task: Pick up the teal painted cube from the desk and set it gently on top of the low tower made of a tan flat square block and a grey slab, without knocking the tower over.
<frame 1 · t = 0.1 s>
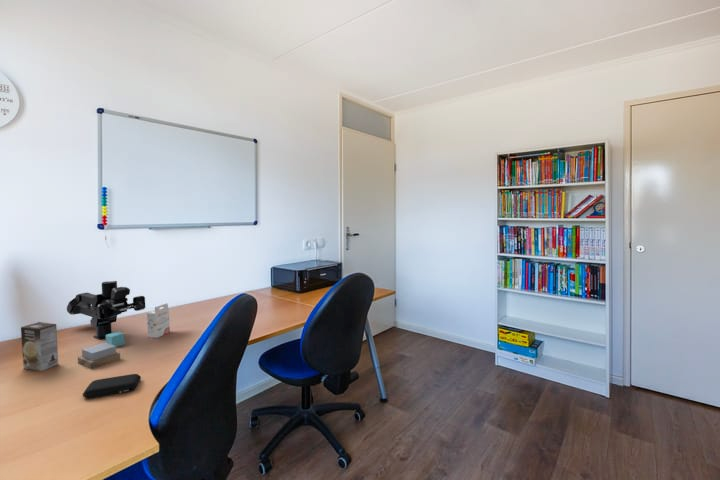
hand: (132, 309, 148), 17 cm above the table, tool horizontal, fingers open, 9 cm apart
ink cartridge box: (159, 335, 164), on the table
tan flat square block: (99, 362, 134), on the table, touching grey slab
coffee box: (41, 366, 130), on the table
teal cube: (115, 345, 151), on the table
grey slab: (99, 355, 134), point 2 cm above the table, touching tan flat square block
carrying case or bag: (113, 391, 113), on the table
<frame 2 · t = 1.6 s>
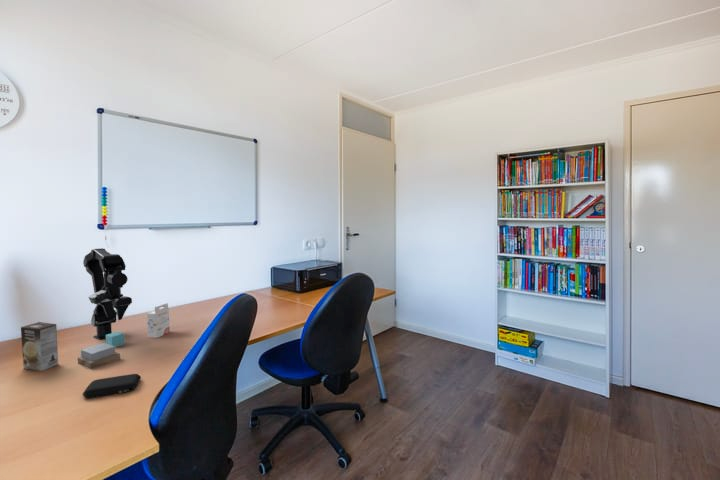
hand: (114, 318, 150), 12 cm above the table, tool pointing down, fingers open, 9 cm apart
nothing on the table moved.
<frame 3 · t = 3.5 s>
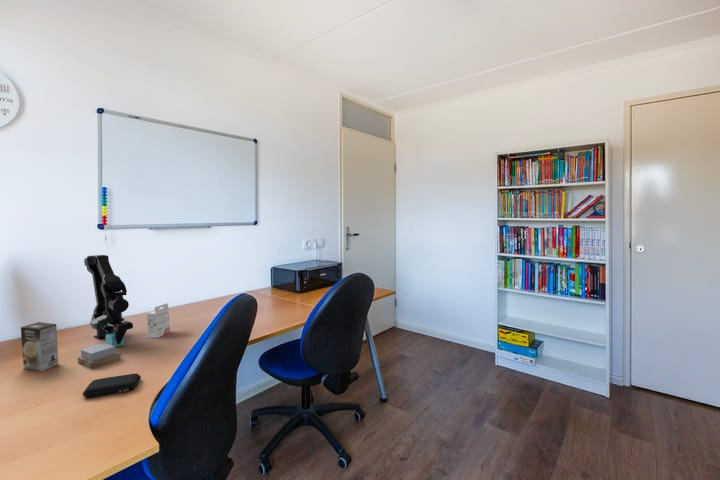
hand: (115, 342, 151), 1 cm above the table, tool pointing down, fingers closed on teal cube, 5 cm apart
teal cube: (115, 344, 151), on the table, touching gripper
everything else where it was.
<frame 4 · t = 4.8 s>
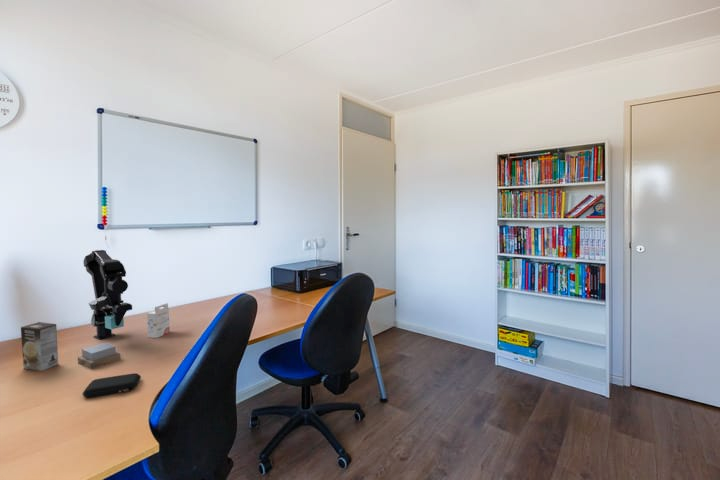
hand: (114, 324, 150), 9 cm above the table, tool pointing down, fingers closed on teal cube, 5 cm apart
teal cube: (114, 327, 150), point 8 cm above the table, touching gripper
everything else where it was.
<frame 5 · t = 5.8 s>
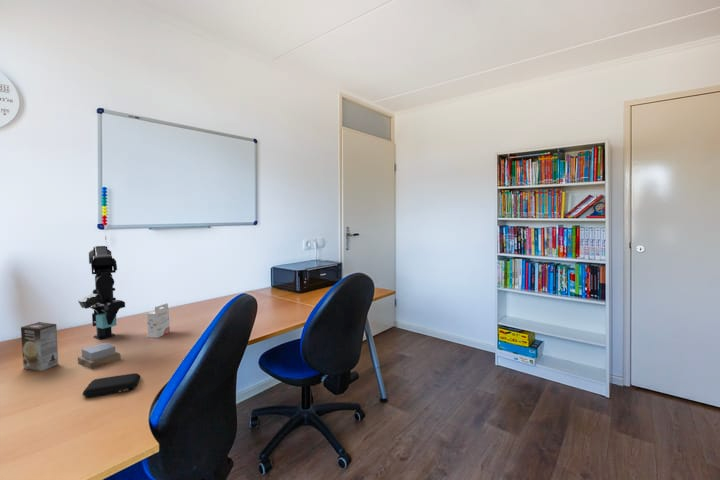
hand: (106, 323, 141), 13 cm above the table, tool pointing down, fingers closed on teal cube, 5 cm apart
teal cube: (106, 326, 141), point 12 cm above the table, touching gripper
everything else where it was.
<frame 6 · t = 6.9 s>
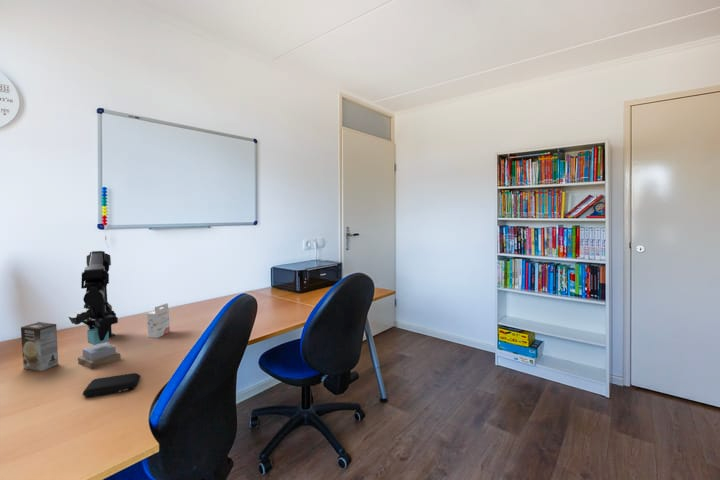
hand: (98, 339, 134), 9 cm above the table, tool pointing down, fingers closed on teal cube, 5 cm apart
tan flat square block: (99, 362, 134), on the table
teal cube: (98, 341, 134), point 8 cm above the table, touching gripper
grey slab: (99, 355, 134), point 2 cm above the table
everything else where it was.
when the fingers open (8 cm above the table, at t = 7.8 s): teal cube drops 2 cm, resting on grey slab.
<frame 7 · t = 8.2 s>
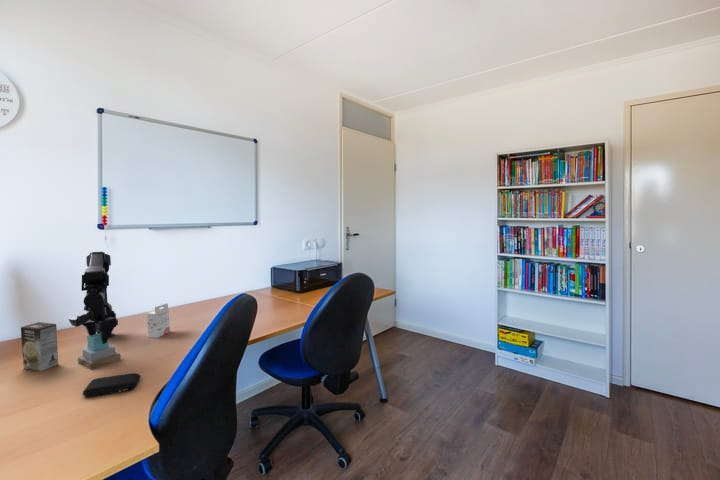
hand: (98, 341, 134), 8 cm above the table, tool pointing down, fingers open, 9 cm apart
tan flat square block: (99, 363, 134), on the table, touching grey slab
teal cube: (98, 348, 134), point 5 cm above the table, touching grey slab
grey slab: (99, 355, 134), point 2 cm above the table, touching teal cube, tan flat square block
everything else where it was.
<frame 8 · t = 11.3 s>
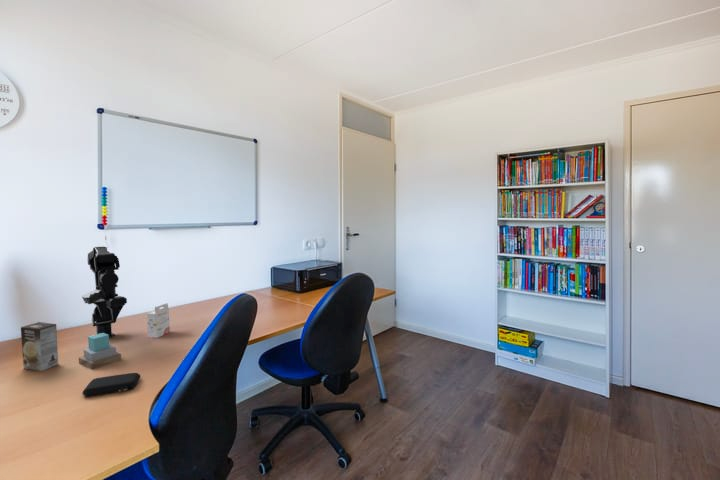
hand: (108, 318, 146), 13 cm above the table, tool pointing down, fingers open, 9 cm apart
tan flat square block: (100, 363, 134), on the table
teal cube: (99, 348, 134), point 5 cm above the table
grey slab: (100, 355, 134), point 2 cm above the table
at the end: teal cube 0.3 cm off-centre on the grey slab, point 3.1 cm above the grey slab's base; grey slab tilted 0°; grey slab 0.2 cm from the tan flat square block (horizontally) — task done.
